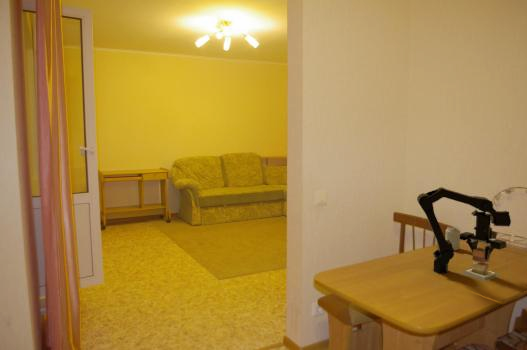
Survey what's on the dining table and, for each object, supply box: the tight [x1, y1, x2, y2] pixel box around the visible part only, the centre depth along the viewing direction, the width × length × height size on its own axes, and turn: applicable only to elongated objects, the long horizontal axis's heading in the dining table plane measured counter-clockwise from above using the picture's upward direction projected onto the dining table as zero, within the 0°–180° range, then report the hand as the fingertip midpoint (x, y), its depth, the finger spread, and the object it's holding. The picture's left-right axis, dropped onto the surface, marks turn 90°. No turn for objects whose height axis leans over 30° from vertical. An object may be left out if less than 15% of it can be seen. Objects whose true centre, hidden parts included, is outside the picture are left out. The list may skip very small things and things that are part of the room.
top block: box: [471, 247, 491, 263], centre depth 177 cm, size 5×5×5 cm
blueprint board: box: [460, 267, 501, 282], centre depth 179 cm, size 12×12×2 cm
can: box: [444, 226, 462, 251], centre depth 216 cm, size 8×8×12 cm
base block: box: [471, 261, 490, 276], centre depth 178 cm, size 5×5×5 cm
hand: (481, 258), depth 178 cm, fingers closed on top block, 5 cm apart
